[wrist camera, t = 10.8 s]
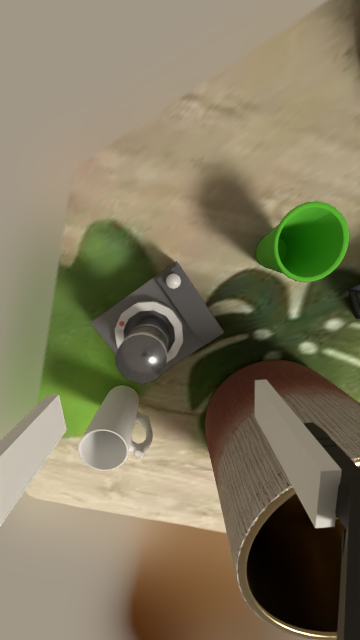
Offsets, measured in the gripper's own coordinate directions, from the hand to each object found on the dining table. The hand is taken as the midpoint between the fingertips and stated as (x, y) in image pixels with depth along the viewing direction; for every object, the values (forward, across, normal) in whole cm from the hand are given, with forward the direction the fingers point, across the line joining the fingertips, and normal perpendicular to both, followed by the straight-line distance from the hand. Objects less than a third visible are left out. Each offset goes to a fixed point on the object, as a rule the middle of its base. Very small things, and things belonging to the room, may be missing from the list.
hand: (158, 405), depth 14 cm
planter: (+24, +18, -21) cm, 37 cm away
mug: (+24, -9, -15) cm, 30 cm away
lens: (+19, -3, 0) cm, 19 cm away
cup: (+25, +18, +11) cm, 32 cm away
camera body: (+24, -2, 0) cm, 24 cm away
